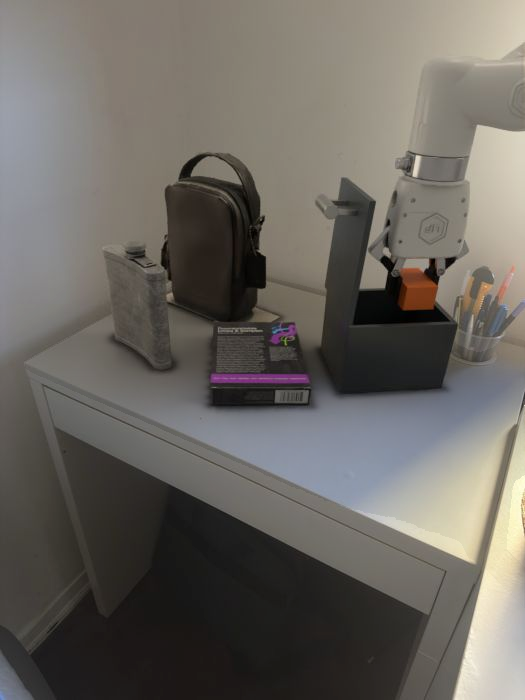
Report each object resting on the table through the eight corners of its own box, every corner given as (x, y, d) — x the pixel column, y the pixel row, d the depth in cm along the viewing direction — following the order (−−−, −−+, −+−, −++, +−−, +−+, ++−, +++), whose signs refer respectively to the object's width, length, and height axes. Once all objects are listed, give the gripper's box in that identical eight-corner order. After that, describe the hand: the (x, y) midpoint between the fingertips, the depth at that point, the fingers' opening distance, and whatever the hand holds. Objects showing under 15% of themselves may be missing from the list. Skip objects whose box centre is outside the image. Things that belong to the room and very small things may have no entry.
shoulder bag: (279, 316, 93) (287, 157, 78) (249, 335, 86) (252, 166, 72) (191, 285, 104) (184, 141, 89) (158, 299, 98) (145, 146, 83)
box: (309, 408, 70) (294, 336, 86) (312, 387, 68) (296, 319, 84) (209, 407, 69) (213, 335, 85) (209, 387, 67) (213, 317, 83)
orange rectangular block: (385, 289, 76) (389, 268, 74) (414, 289, 76) (418, 267, 74) (402, 310, 70) (407, 287, 68) (433, 309, 70) (438, 286, 68)
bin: (409, 345, 85) (422, 286, 79) (442, 387, 74) (458, 323, 69) (320, 349, 83) (326, 289, 77) (340, 393, 72) (349, 328, 67)
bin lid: (346, 177, 69) (311, 175, 68) (376, 201, 58) (335, 199, 57) (329, 286, 77) (297, 286, 76) (352, 325, 66) (316, 324, 66)
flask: (131, 330, 87) (118, 228, 77) (179, 363, 78) (172, 253, 69) (112, 336, 84) (97, 233, 75) (159, 371, 76) (149, 259, 66)
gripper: (381, 174, 59) (360, 311, 69) (513, 174, 61) (475, 308, 71) (362, 161, 66) (345, 289, 75) (482, 162, 68) (451, 286, 77)
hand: (409, 297), depth 73 cm, fingers closed on orange rectangular block, 4 cm apart
